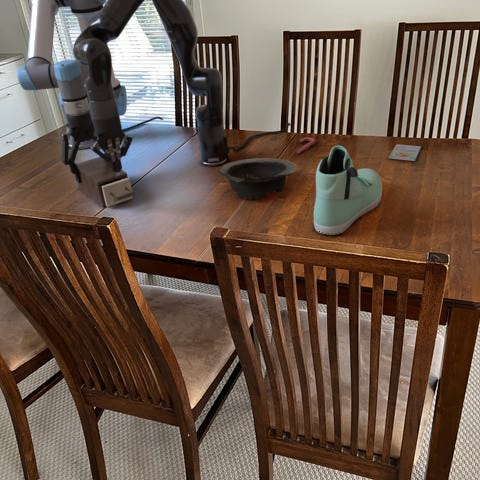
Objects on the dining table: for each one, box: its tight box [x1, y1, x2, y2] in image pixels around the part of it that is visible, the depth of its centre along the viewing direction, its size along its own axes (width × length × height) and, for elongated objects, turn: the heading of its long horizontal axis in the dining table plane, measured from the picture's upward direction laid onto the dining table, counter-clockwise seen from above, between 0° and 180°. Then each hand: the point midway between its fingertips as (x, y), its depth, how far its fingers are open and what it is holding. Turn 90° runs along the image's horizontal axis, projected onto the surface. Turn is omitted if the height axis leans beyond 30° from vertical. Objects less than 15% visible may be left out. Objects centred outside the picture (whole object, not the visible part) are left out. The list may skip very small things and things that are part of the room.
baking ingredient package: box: [388, 143, 422, 162], centre depth 171 cm, size 9×1×15 cm
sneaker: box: [313, 145, 383, 236], centre depth 133 cm, size 14×35×20 cm, turn 152°
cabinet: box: [76, 156, 129, 208], centre depth 158 cm, size 20×10×8 cm, turn 37°
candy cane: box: [295, 136, 316, 155], centre depth 183 cm, size 6×15×2 cm, turn 145°
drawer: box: [100, 177, 136, 208], centre depth 154 cm, size 25×9×7 cm, turn 37°
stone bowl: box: [217, 157, 299, 201], centre depth 152 cm, size 25×25×9 cm
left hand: (94, 176), depth 164 cm, fingers closed on cabinet, 10 cm apart
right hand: (117, 171), depth 143 cm, fingers closed
